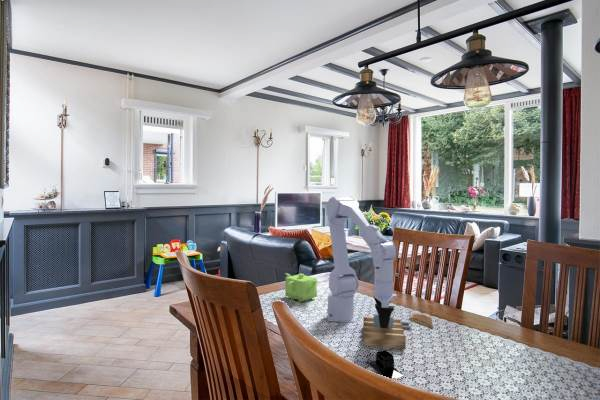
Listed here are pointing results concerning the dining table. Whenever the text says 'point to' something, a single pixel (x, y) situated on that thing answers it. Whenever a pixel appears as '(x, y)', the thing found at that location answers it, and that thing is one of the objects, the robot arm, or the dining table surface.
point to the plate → (377, 324)
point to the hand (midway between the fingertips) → (383, 323)
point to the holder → (405, 325)
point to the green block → (301, 287)
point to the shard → (422, 319)
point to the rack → (383, 334)
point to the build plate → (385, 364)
